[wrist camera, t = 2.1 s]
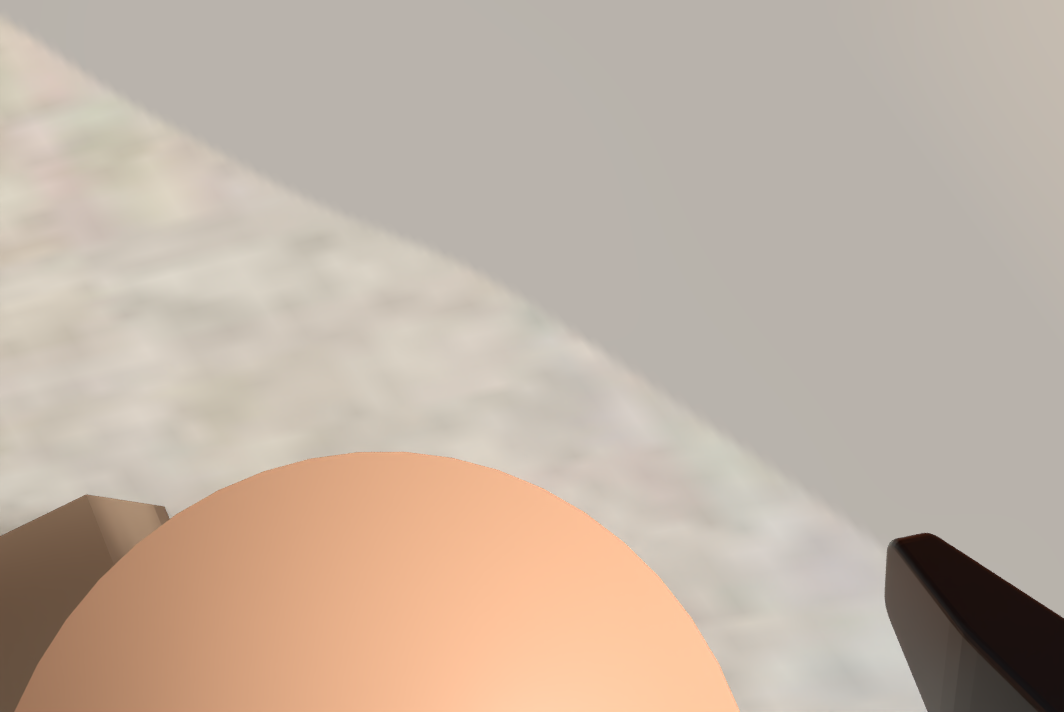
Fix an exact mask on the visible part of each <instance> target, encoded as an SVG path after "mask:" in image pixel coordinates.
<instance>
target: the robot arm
mask: <svg viewBox="0 0 1064 712" xmlns="http://www.w3.org/2000/svg"><path fill="white" fill-rule="evenodd" d="M885 604H886V609H887V613H888V616H889V619H890V621H891V624H892V626H893V629H894V631H895V634H896V636H897V639H898V641H899V643H900V646H901V648H902V651H903V653H904V656H905V658H906V660H907V663H908V665H909V668H910V670H911V673H912V675H913V677H914V680H915V682H916V685H917V687H918V690H919V692H920V694H921V697H922V699H923V702H924V704H925V707H926V709H927V711H928V712H1064V618H1062V617H1061V616H1059V615H1058V614H1056V613H1055V612H1053V611H1052V610H1050V609H1048V608H1047V607H1045V606H1044V605H1043V604H1041V603H1039V602H1038V601H1036V600H1035V599H1033V598H1031V597H1030V596H1029V595H1027V594H1025V593H1024V592H1022V591H1021V590H1019V589H1018V588H1016V587H1015V586H1013V585H1012V584H1010V583H1008V582H1007V581H1005V580H1004V579H1002V578H1001V577H999V576H998V575H996V574H995V573H993V572H992V571H990V570H988V569H987V568H985V567H984V566H982V565H981V564H979V563H978V562H976V561H975V560H973V559H972V558H970V557H968V556H967V555H965V554H964V553H962V552H961V551H959V550H958V549H956V548H955V547H953V546H951V545H950V544H948V543H947V542H945V541H944V540H942V539H941V538H939V537H937V536H936V535H933V534H930V533H921V534H916V535H911V536H907V537H902V538H897V539H894V540H892V541H891V542H890V543H889V545H888V548H887V558H886V577H885Z"/></svg>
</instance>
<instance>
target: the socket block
mask: <svg viewBox="0 0 1064 712" xmlns="http://www.w3.org/2000/svg"><path fill="white" fill-rule="evenodd" d="M168 520H169V517H168V514H167V512H166V509H165V507H163V506H157V505H151V504H144V503H138V502H131V501H125V500H118V499H112V498H105V497H99V496H93V495H84V496H82V497H80V498H78V499H76V500H74V501H72V502H70V503H68V504H66V505H64V506H62V507H60V508H58V509H55V510H53V511H51V512H49V513H47V514H45V515H43V516H41V517H39V518H37V519H35V520H33V521H31V522H29V523H27V524H25V525H23V526H21V527H18V528H16V529H14V530H12V531H10V532H8V533H6V534H4V535H2V536H0V712H14V711H15V709H16V707H17V705H18V703H19V701H20V699H21V697H22V695H23V693H24V691H25V689H26V687H27V685H28V683H29V681H30V679H31V677H32V675H33V673H34V671H35V669H36V666H37V664H38V663H39V661H40V660H41V658H42V657H43V655H44V653H45V652H46V650H47V649H48V647H49V646H50V644H51V643H52V641H53V639H54V638H55V636H56V635H57V633H58V632H59V630H60V629H61V627H62V625H63V624H64V622H65V621H66V619H67V618H68V617H69V616H70V614H71V613H72V612H73V611H74V610H75V608H76V607H77V606H78V605H79V604H80V602H81V601H82V600H83V599H84V597H85V596H86V595H87V594H88V593H89V591H90V590H91V589H92V588H93V587H94V585H95V584H96V583H97V582H98V581H99V579H100V578H101V577H103V576H104V575H105V574H106V573H107V572H108V571H109V570H110V569H111V568H112V567H113V566H114V565H115V564H116V563H117V562H118V561H119V560H120V559H121V558H122V557H123V556H124V555H126V554H127V553H128V552H129V551H130V550H131V549H132V548H133V547H134V546H135V545H136V544H137V543H139V542H140V541H141V540H143V539H144V538H145V537H147V536H148V535H149V534H151V533H152V532H153V531H155V530H156V529H157V528H159V527H160V526H161V525H163V524H164V523H165V522H167V521H168Z"/></svg>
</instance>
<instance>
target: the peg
mask: <svg viewBox="0 0 1064 712" xmlns="http://www.w3.org/2000/svg"><path fill="white" fill-rule="evenodd" d="M14 712H740V711H739V708H738V706H737V704H736V701H735V699H734V697H733V695H732V692H731V690H730V688H729V686H728V683H727V681H726V679H725V677H724V674H723V672H722V670H721V667H720V665H719V663H718V661H717V660H716V658H715V656H714V655H713V653H712V651H711V650H710V648H709V646H708V645H707V643H706V641H705V640H704V638H703V636H702V635H701V633H700V631H699V630H698V628H697V626H696V625H695V623H694V621H693V620H692V618H691V617H690V616H689V614H688V613H687V612H686V610H685V609H684V608H683V607H682V605H681V604H680V603H679V601H678V600H677V599H676V598H675V596H674V595H673V594H672V593H671V591H670V590H669V589H668V587H667V586H666V585H665V584H664V582H663V581H662V580H661V578H660V577H659V576H658V575H657V574H656V573H655V572H654V571H653V570H652V569H651V568H650V567H649V566H648V565H646V564H645V563H644V562H643V561H642V560H641V559H640V558H639V557H638V556H637V555H636V554H635V553H634V552H633V551H632V550H631V549H630V548H629V547H628V546H627V545H626V544H625V543H624V542H623V541H622V540H620V539H619V538H618V537H616V536H615V535H614V534H612V533H611V532H610V531H608V530H607V529H606V528H605V527H603V526H602V525H601V524H599V523H598V522H597V521H595V520H594V519H593V518H591V517H590V516H589V515H587V514H586V513H585V512H583V511H581V510H580V509H578V508H576V507H574V506H573V505H571V504H569V503H567V502H566V501H564V500H562V499H560V498H559V497H557V496H555V495H553V494H552V493H550V492H548V491H546V490H545V489H543V488H541V487H538V486H536V485H533V484H531V483H528V482H526V481H524V480H521V479H519V478H516V477H514V476H511V475H509V474H507V473H504V472H502V471H499V470H496V469H492V468H488V467H485V466H481V465H477V464H473V463H469V462H466V461H462V460H458V459H454V458H449V457H441V456H433V455H425V454H417V453H409V452H356V453H349V454H341V455H334V456H327V457H320V458H313V459H308V460H304V461H300V462H297V463H293V464H289V465H286V466H282V467H278V468H275V469H271V470H267V471H264V472H261V473H259V474H256V475H254V476H252V477H249V478H247V479H244V480H242V481H240V482H237V483H235V484H232V485H230V486H228V487H225V488H223V489H220V490H218V491H216V492H215V493H213V494H211V495H209V496H208V497H206V498H204V499H202V500H201V501H199V502H197V503H195V504H194V505H192V506H190V507H188V508H187V509H185V510H183V511H181V512H180V513H178V514H176V515H175V516H173V517H172V518H171V519H169V520H168V521H167V522H165V523H164V524H163V525H161V526H160V527H159V528H157V529H156V530H155V531H153V532H152V533H151V534H149V535H148V536H147V537H145V538H144V539H143V540H141V541H140V542H139V543H137V544H136V545H135V546H134V547H133V548H132V549H131V550H130V551H129V552H128V553H127V554H126V555H124V556H123V557H122V558H121V559H120V560H119V561H118V562H117V563H116V564H115V565H114V566H113V567H112V568H111V569H110V570H109V571H108V572H107V573H106V574H105V575H104V576H103V577H101V578H100V579H99V581H98V582H97V583H96V584H95V585H94V587H93V588H92V589H91V590H90V591H89V593H88V594H87V595H86V596H85V597H84V599H83V600H82V601H81V602H80V604H79V605H78V606H77V607H76V608H75V610H74V611H73V612H72V613H71V614H70V616H69V617H68V618H67V619H66V621H65V622H64V624H63V625H62V627H61V629H60V630H59V632H58V633H57V635H56V636H55V638H54V639H53V641H52V643H51V644H50V646H49V647H48V649H47V650H46V652H45V653H44V655H43V657H42V658H41V660H40V661H39V663H38V664H37V666H36V669H35V671H34V673H33V675H32V677H31V679H30V681H29V683H28V685H27V687H26V689H25V691H24V693H23V695H22V697H21V699H20V701H19V703H18V705H17V707H16V709H15V711H14Z"/></svg>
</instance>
